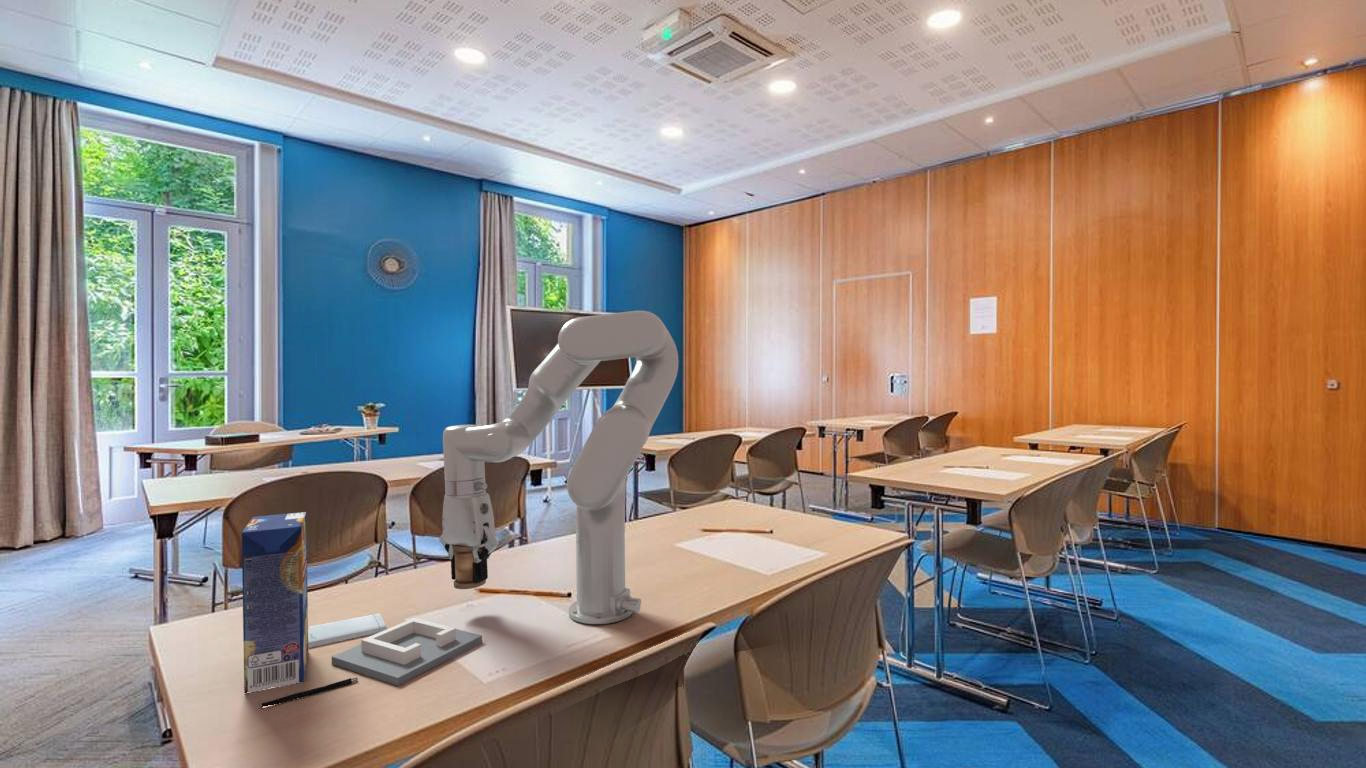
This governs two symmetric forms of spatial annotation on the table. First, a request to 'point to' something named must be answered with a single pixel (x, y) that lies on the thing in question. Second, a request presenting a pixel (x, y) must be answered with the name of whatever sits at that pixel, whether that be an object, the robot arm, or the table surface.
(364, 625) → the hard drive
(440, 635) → the notched board
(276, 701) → the black pencil
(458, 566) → the bobbin
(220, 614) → the table surface
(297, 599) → the juice carton
